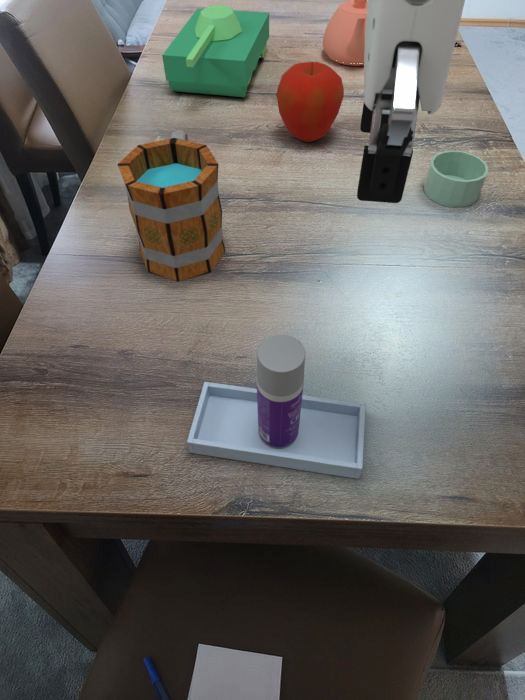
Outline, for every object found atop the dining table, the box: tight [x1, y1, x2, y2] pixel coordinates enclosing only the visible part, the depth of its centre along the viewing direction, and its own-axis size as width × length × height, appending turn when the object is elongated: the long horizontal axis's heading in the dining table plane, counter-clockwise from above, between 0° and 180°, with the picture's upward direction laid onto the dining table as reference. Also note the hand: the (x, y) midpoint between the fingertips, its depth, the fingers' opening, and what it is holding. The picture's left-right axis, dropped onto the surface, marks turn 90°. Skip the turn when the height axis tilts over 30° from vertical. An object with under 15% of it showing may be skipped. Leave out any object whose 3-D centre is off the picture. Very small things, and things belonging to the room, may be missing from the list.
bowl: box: [423, 149, 490, 208], centre depth 85 cm, size 9×9×5 cm
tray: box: [186, 381, 366, 480], centre depth 56 cm, size 19×8×3 cm, turn 80°
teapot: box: [322, 0, 368, 67], centre depth 116 cm, size 22×16×12 cm
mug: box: [117, 129, 227, 282], centre depth 73 cm, size 20×14×15 cm
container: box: [256, 333, 306, 449], centre depth 51 cm, size 5×5×15 cm
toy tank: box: [161, 4, 270, 98], centre depth 109 cm, size 18×12×35 cm
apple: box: [275, 61, 345, 143], centre depth 92 cm, size 12×12×14 cm
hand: (378, 163), depth 39 cm, fingers open, 9 cm apart
